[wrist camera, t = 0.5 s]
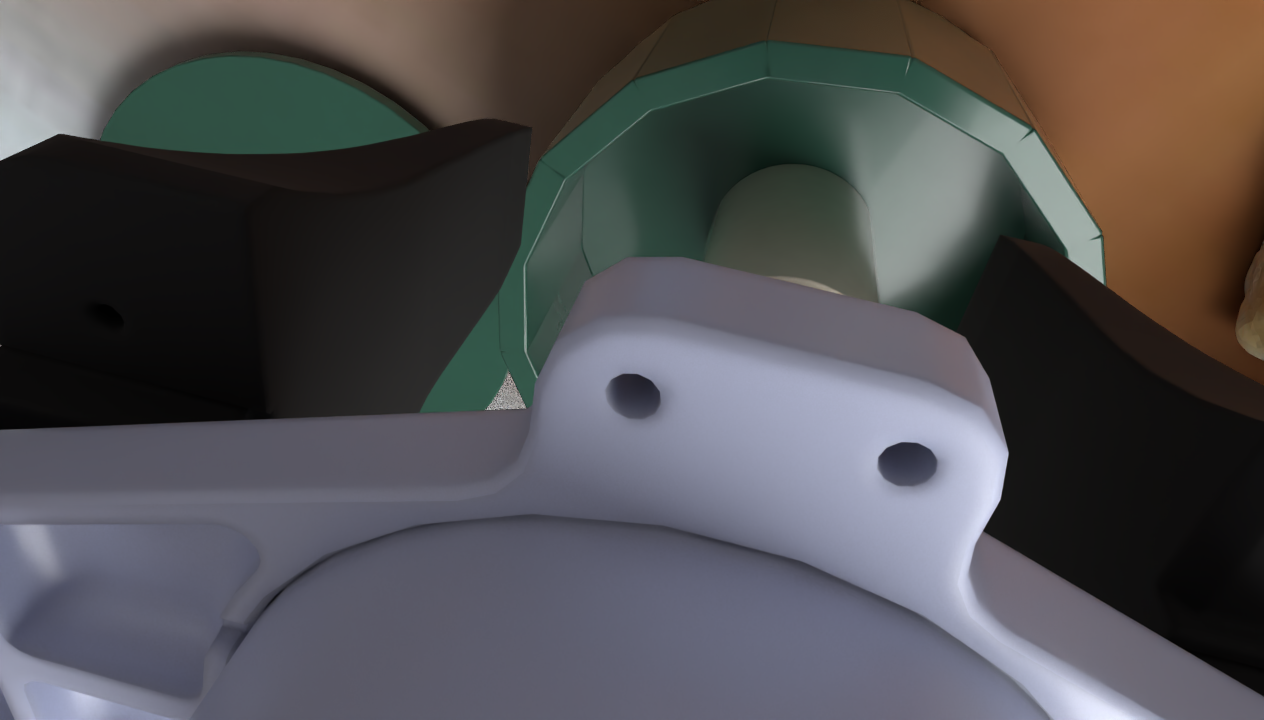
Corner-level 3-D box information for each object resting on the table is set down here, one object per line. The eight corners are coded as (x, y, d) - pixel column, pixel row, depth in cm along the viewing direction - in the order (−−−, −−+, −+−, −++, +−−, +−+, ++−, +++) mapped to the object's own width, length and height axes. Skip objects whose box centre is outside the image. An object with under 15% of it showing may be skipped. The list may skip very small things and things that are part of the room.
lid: (528, 466, 31) (475, 586, 26) (172, 402, 33) (65, 505, 28) (525, 76, 23) (448, 151, 18) (56, 18, 25) (-120, 74, 20)
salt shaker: (855, 321, 25) (862, 486, 19) (701, 297, 25) (663, 452, 19) (891, 175, 22) (911, 314, 16) (719, 152, 23) (681, 280, 17)
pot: (966, 450, 27) (995, 601, 22) (560, 383, 28) (503, 509, 24) (1129, 11, 20) (1228, 92, 15) (567, -47, 21) (487, 8, 16)
